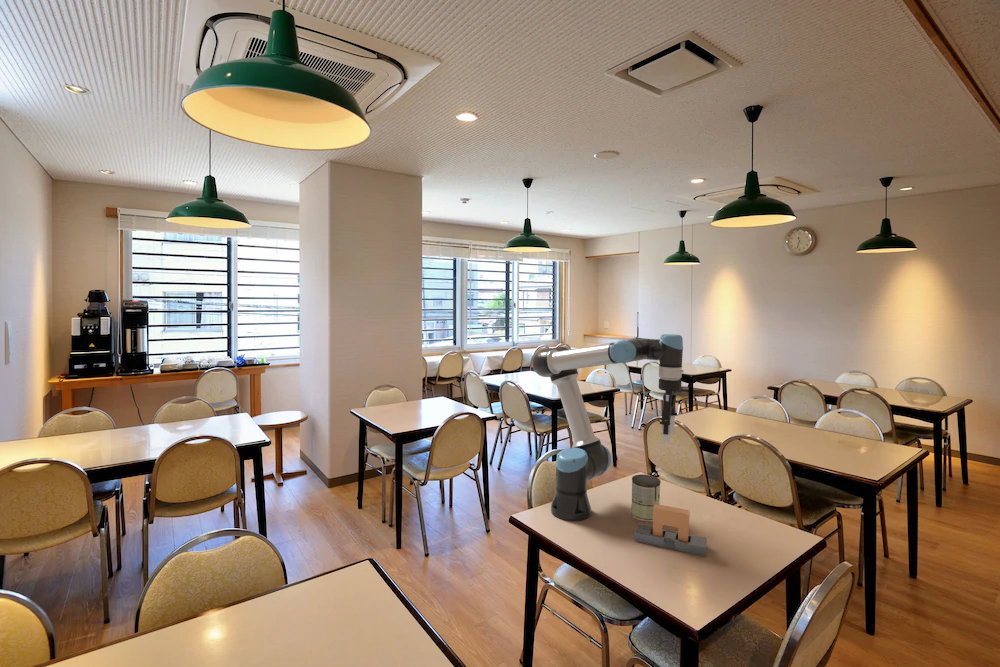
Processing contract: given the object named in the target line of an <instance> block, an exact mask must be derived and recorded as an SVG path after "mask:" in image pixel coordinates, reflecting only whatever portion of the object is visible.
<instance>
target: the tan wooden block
mask: <svg viewBox="0 0 1000 667" xmlns="http://www.w3.org/2000/svg"><path fill="white" fill-rule="evenodd" d="M664 526H670V527H675V528H678V530H677V532H678V540H680V541H685V542H688V538H689V533H690V532H689V531H690V510H689V509H686V508H685V509H684V508H679V507H674V506H669V505H664V504H655V505H654V508H653V521H652V527H653V535H657V536H662V537H663V529H664Z"/></svg>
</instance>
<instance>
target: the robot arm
mask: <svg viewBox="0 0 1000 667" xmlns="http://www.w3.org/2000/svg"><path fill="white" fill-rule="evenodd" d="M683 341H684V339H683V336H682V335H680V334H674V333H672V334H668V333H663V334H660V338H658V339H656V338H655V339H654V338H645V337H644V338H643V337H631V338H629V339H627V340H624V339H623V340H618V341H614V342H609V343H608V342H607V343H601V344H600V343H599V344H595V345H588V346H583V347H577V348H570V347H568V346H557V347H551V348H550V347H549V348H542V349H540V350H538V351H537V352H536V353H535V354H534V355H533V358H532V360H531V366H532V369H533V370H534V372H535V373H536V374H537V375H538V376H540V377H543V378H550V382H551V383H552V384H553V385H556V387H557V391H558V394H559V398H560V401H561V404H562V407H563V411H564V413H565V417H566V420H567V423H568V426H569V430H570V432H571V436H572V438H573V443H572V446H571V447H570V448H569V447H568V448H564V449H562V450H560V451H559V452H558V454H557V455H556V461H555V470H556V471H555V472H556V473H555V475H556V476H555V493H554V496H553V498H552V501H551V504H550V512H551V514H552V515H553V516H555V517H557V518H558V519H561V520H563V521H564V520H565V521H576V522H577V521H583V520H586V519H588V518H589V517H590V516H591V515H592V507H591V504H590V501H589V496H588V493H587V492H588V489H587V488H588V487H587V486H588V481H590V480H592V479H593V478H595V477H598V476H601V475H603V474H604V473H606V472H607V471H608V470H609V468H610V466H611V464H612V455H611V452H610V450H609V448H607V447H606V446H605V445H604V444H602V442H601V439H600V438H599V437H597V436H596V435H595V433H594V431H593V426H592V423H591V420H590V417H589V414H588V410H587V408H586V405H585V401H584V399H583V395H582V393H581V389H580V387H579V383H578V377H579V371H578V370H579V369H584V368H585V369H586V368H592V367H598V366H609V365H614V364H615V365H617V364H627V363H631V362H638V361H643V360H648V361H649V360H650V361H659V366H658V377H659V379H658V389H659V390H660V391H664V393H663V395H662V400H663V401H662V413H661V421H659V425H661V444H666V445H670V444H671V435H675V430H676V429H675V427H676V424H675V423H676V416H678V412H676V403H677V402H676V399H677V394H676V393H677V392H680V391H682V380H681V378H682V375H683V373H684V372H685V371H684V369H683V351H684V342H683Z"/></svg>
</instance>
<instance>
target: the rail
mask: <svg viewBox="0 0 1000 667" xmlns="http://www.w3.org/2000/svg"><path fill="white" fill-rule="evenodd" d="M634 542H637V543H643V544H647V545H651V546H655V547H661V548H665V549H668V550H673V551H678V552H682V553H687V554H691V555H695V556H699V557H703V558H704V557H705V558H706V557H707V556H706V554H707V545H708V544H707V543H708V538H707V537H704V536H698V535H693V534H689V538H688V542H685V541H680V540H678V531H675V530H670V529H666V528H665V529H664V528H663V537H662V536H657V535H653V526H651V525H645V524H642V523H638V525H637V527H636V529H635V532H634Z"/></svg>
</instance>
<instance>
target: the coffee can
mask: <svg viewBox="0 0 1000 667" xmlns="http://www.w3.org/2000/svg"><path fill="white" fill-rule="evenodd" d="M660 495H661V479H660V478H659V477H656V476H653V475H650V474H636V475H633V476H632V477H631V514H630V515H631V516H632V518H634V519H636V520H638V521H641V522H648V523H649V522H650V523H651V522H653V508H654V505H655V504H659V505H661V504H660V503H661V501H660V498H661V497H660Z"/></svg>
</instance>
